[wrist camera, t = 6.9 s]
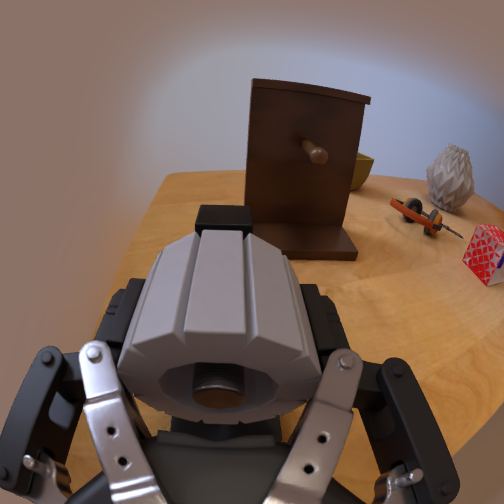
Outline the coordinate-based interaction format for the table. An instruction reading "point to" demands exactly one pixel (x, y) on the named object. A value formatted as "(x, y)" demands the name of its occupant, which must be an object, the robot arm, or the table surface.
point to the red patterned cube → (486, 254)
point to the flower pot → (361, 170)
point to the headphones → (413, 213)
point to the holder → (223, 374)
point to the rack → (302, 166)
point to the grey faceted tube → (221, 328)
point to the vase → (450, 179)
